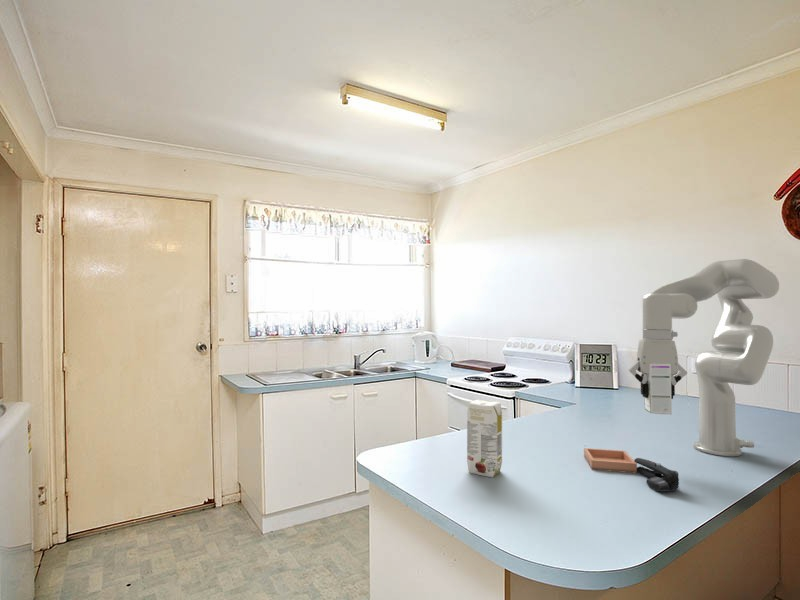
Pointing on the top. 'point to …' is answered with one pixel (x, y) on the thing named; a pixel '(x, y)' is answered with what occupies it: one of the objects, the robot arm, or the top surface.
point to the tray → (609, 460)
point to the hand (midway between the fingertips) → (657, 397)
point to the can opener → (658, 475)
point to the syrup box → (659, 389)
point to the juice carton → (484, 438)
